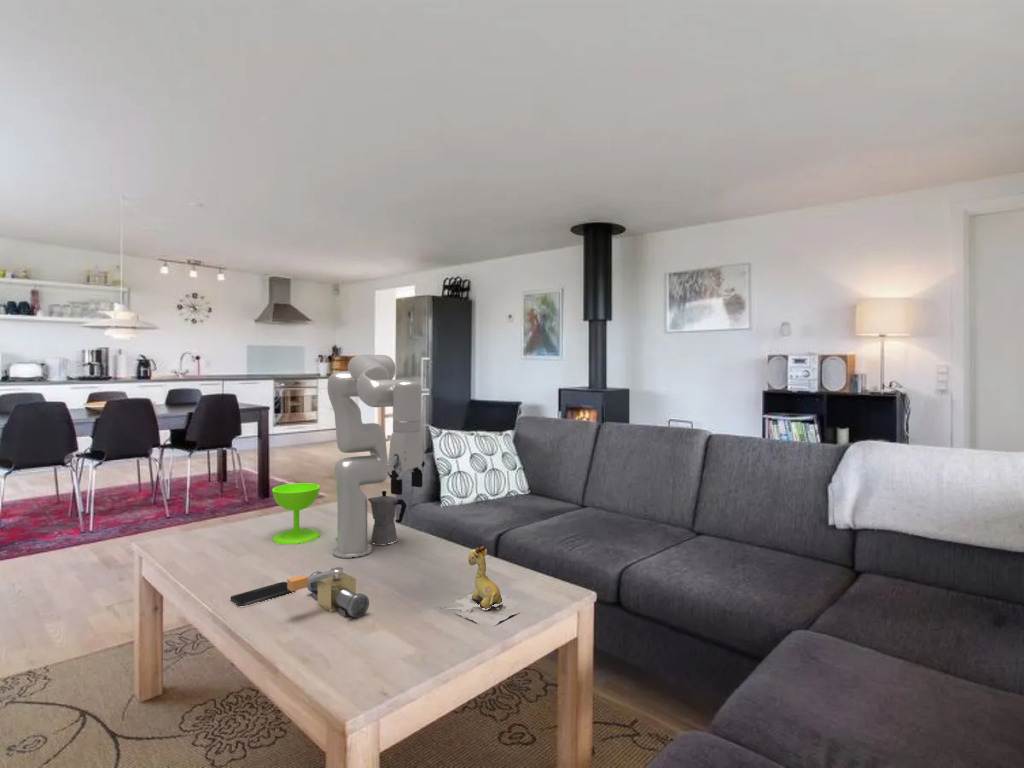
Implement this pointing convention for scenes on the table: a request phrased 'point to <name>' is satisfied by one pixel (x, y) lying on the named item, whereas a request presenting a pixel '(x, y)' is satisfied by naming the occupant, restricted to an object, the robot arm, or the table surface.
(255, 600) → the phone
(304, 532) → the wineglass
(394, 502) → the coffeepot
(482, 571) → the stuffed giraffe
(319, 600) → the valve pipe
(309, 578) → the valve lever
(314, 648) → the table surface
